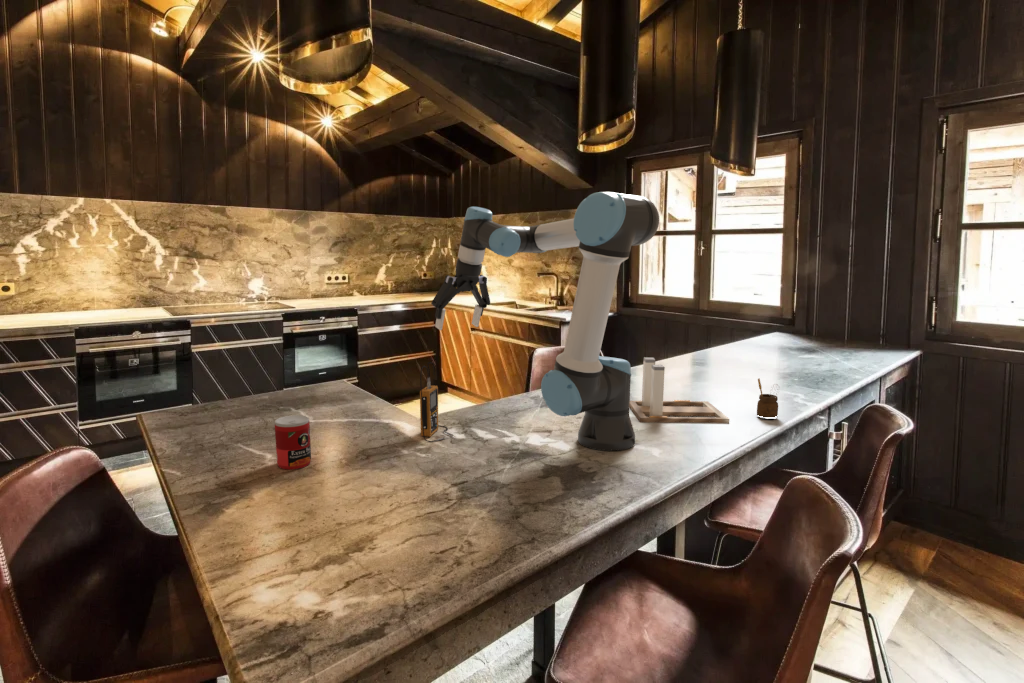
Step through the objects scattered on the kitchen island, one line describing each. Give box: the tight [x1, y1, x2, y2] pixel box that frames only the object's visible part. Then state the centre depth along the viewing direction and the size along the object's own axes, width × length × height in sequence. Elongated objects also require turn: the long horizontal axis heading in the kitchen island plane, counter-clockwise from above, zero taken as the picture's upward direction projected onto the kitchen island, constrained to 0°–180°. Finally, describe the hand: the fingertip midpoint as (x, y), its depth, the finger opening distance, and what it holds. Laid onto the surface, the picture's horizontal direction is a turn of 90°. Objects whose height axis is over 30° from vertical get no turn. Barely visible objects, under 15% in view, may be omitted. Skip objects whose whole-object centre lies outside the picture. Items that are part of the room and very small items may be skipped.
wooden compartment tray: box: [629, 399, 730, 425], centre depth 178 cm, size 26×20×3 cm
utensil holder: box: [756, 378, 780, 417], centre depth 177 cm, size 6×6×12 cm
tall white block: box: [641, 356, 656, 406], centre depth 183 cm, size 3×4×16 cm
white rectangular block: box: [649, 364, 666, 417], centre depth 171 cm, size 3×4×16 cm
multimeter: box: [419, 361, 457, 443], centre depth 159 cm, size 15×10×20 cm
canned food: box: [274, 414, 312, 471], centre depth 136 cm, size 8×8×11 cm
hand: (457, 326), depth 176 cm, fingers open, 13 cm apart
